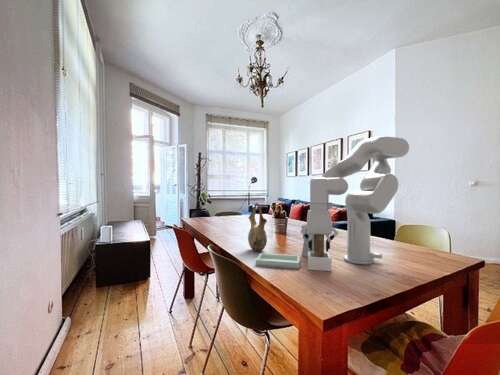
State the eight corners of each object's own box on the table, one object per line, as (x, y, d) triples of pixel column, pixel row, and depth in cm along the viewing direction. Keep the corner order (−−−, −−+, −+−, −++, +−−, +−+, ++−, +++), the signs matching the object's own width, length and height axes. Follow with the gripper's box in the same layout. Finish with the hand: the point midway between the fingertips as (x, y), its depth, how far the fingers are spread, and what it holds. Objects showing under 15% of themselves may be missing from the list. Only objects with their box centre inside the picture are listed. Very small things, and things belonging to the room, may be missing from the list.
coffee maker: (319, 260, 112) (319, 220, 112) (299, 258, 115) (299, 219, 115) (320, 252, 127) (321, 216, 126) (303, 250, 129) (303, 216, 129)
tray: (299, 261, 111) (299, 255, 111) (299, 269, 101) (299, 262, 100) (260, 258, 115) (260, 252, 115) (255, 265, 104) (255, 259, 104)
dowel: (323, 265, 105) (323, 232, 105) (324, 268, 101) (324, 234, 101) (313, 264, 106) (314, 232, 106) (314, 267, 102) (314, 234, 102)
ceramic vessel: (273, 253, 124) (273, 203, 123) (257, 255, 119) (257, 204, 119) (257, 246, 138) (257, 201, 138) (242, 248, 134) (242, 201, 134)
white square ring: (329, 264, 107) (329, 252, 107) (331, 271, 98) (331, 258, 98) (307, 262, 109) (307, 251, 109) (307, 269, 100) (308, 257, 100)
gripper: (339, 207, 105) (339, 249, 105) (298, 206, 109) (298, 246, 109) (342, 208, 98) (342, 254, 98) (298, 207, 102) (297, 251, 102)
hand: (319, 249), depth 104 cm, fingers open, 5 cm apart
